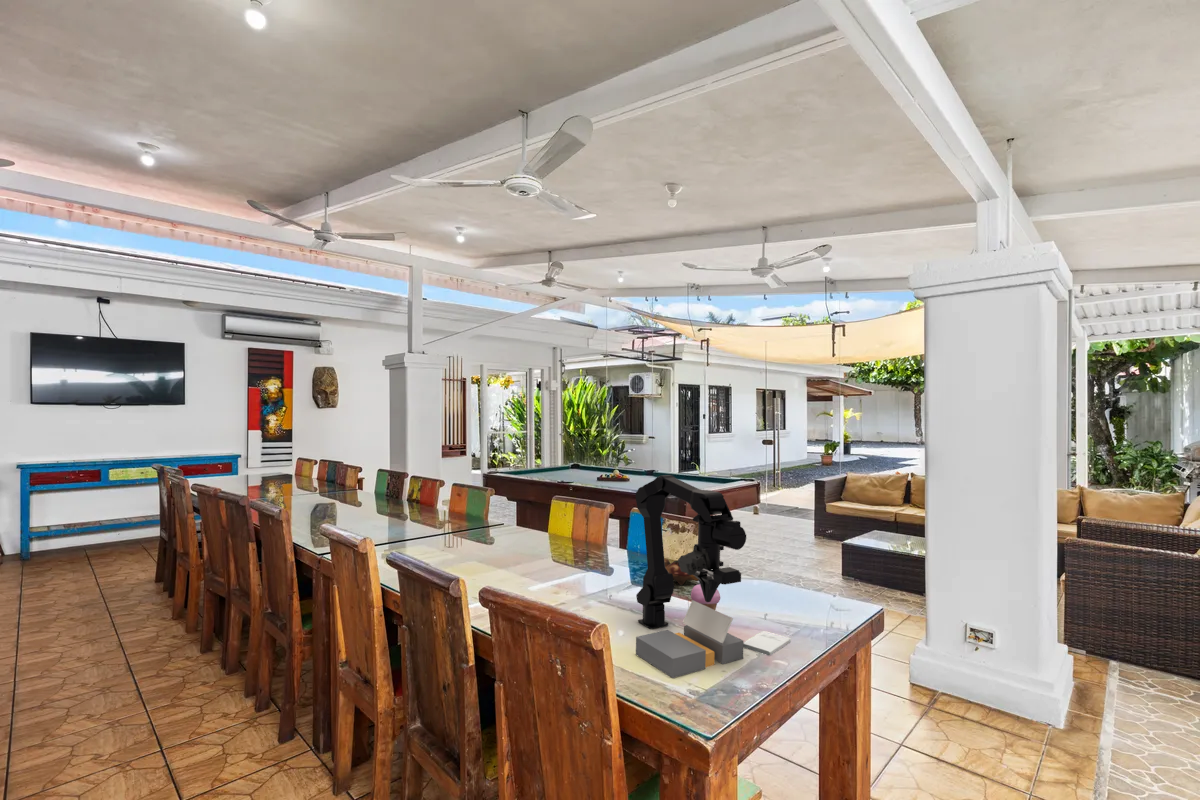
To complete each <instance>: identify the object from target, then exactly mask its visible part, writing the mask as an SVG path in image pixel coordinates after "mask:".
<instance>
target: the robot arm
mask: <svg viewBox="0 0 1200 800" xmlns="http://www.w3.org/2000/svg"><path fill="white" fill-rule="evenodd" d="M671 495H672V496H674V497H676V498H677V499H679V500H682V501H684V502H685V503H687V504H688V505H690V508H691V509H692V510H693V511H694V512H695V513H697V514H696V515H695V516H694V517H693V518H692V521H693V522H695V523H698V526H697V527H698V529H697V543H694V545H693V550H692V551H690V552H688V553H686V554H684V555H681V556H680V557H679V558H677V559H678V566H679V567H680V569H681V571H682V572H685V573H687V574H688V575H694V576H695V577H696V578H697V579H698V580H699V581H698V583H699V584H700V585H701V589H702V592H703V595H704V599H705V601H706V602H710V601H711V600H712V598H713V596H714V594H715V592H716V590H718V588H719V586H720V585H725V586H726V585H731V584H736V583H741V582H742V573H741V572H740V571H739V569H736V568H733V567H730V566H726V567H724V561H722V560H721V551H724V550H725V548H728V549H732V550H735V551H738V550H741V549H742V548H743V547H744V546H745V544H746V541H747V533H746V530H745V529H744V527H743V526H741V521H740V520H734V517H733V515H732V512H731V510H730V508H729V507H728V503H727V502H726V498H724V497H725V496H724V495H723V494H722V493H721V492H720V491H715V490H708V489H702V488H701V489H700V488H698V487H695V486H693V485H691V484H689V483H687V482H685V481H682V480H681V479H678V478H676V477H675V476H674V475H672V474H667V475H666V474H665V475H664V474H663V475H659V476H657V477H655V478H654V479H653V480H651V481H650V482H648V483H645V484H644V485H642V486H641V487H638V488H637V490H636V491H635V498H634V499H635V502H636V507H637V510H638V511H639V513H640V514H641V516H642V518H643V527H644V528H643V529H644V536H645V548H646V550H645V551H646V560H647V561H646V562H647V569H646V571H645V574H644V576H643V578H642V588H641V589H639V591H638V592H637V594H636V601H637V604H640V605H642V619H638V621H637V622H638V623H639V624H641V625H643V626H645V627H646V628H648V629H651V630H653V629H657V628H660V627H665V626H669V622H667V621H666V620H665V619H666V618H665V617H666V616H665V615H666V613H665V612H666V611H665V603H670V602H671V600H672V597H673V595H674V588H675V584H674V581H673V574H672V573H670V574H669V572H668V571H667V569H666V568H665V561H664V559H665V552H664V541H663V540H664V539H663V527H662V514H663V513H664V510H665V508H666V499H667V498H668V497H670V496H671Z"/></svg>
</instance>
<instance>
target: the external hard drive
mask: <svg viewBox="0 0 1200 800" xmlns="http://www.w3.org/2000/svg"><path fill="white" fill-rule="evenodd" d="M791 640H792V639H791V638H790V637H788V636H783V635H780V634H777V633H773V632H769V631H767V630H761V631H760V632H759V633H757V634H755V635H753V636H752V637H750V638H749V639H746V640H745V641H744V644H743V649H746V650H749V651H753V652H756V653H760V654H762V653H763V655H765V654H766V656H769V655H771V656H773V655H774V654H775V653H777V652H778V651H780V650H781V649H782V647H783V648H784V647H786V646H787V645H788V644H790V643H791ZM789 642H790V643H789ZM786 644H787V645H786ZM785 645H786V646H785ZM779 649H780V650H779ZM776 651H777V652H776ZM773 653H774V654H773Z"/></svg>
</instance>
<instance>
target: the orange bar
mask: <svg viewBox="0 0 1200 800" xmlns="http://www.w3.org/2000/svg"><path fill="white" fill-rule="evenodd" d="M674 633H675V634H676V635H678V636H680V637H682V638H684V639H686V640H688V641H689V642H691V643H693V644H695V645H697V646H699V647H700V648H702V649H704V650H706V662H705V668H707V667H712V666H714V665H715V660H714V654H715V652H714V651H712V650H710V649H709V648H707V647H705V646H703V645H701V644H699V643H698V642H696V641H694V640H692V639H690V638H688V637H687V636H685V635H684V633H681V632H674Z"/></svg>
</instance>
